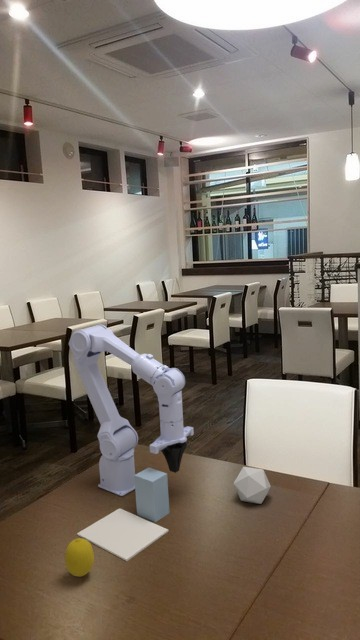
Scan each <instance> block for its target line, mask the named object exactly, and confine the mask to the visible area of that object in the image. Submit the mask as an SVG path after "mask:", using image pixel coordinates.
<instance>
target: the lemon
mask: <svg viewBox="0 0 360 640" xmlns="http://www.w3.org/2000/svg"><path fill="white" fill-rule="evenodd" d="M64 560H65V562H64V563H65V567H66V569H67V570H68V572H69V574H71V575H72V576H74V577H80V578H81V577H83V576H85V575H87V574H89V572H90V571H91V570H92V568H93V566H94V562H95V553H94V549H93V546H92V543H91V542H90V541H88V540H86V539H84V538H82V537H77V538H75V539H73V540H71V541H70V543H69V544H68V545H67V547H66V549H65V555H64Z"/></svg>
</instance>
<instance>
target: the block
mask: <svg viewBox="0 0 360 640" xmlns="http://www.w3.org/2000/svg"><path fill="white" fill-rule="evenodd" d="M134 479H135V489H134V490H135V505H136V516H139V517H141V518H143V519H145V520H148V521H150V522H152V523H157V522H159V520H161V519H163V518H164V517H166V516H167V515H169V514H170V513H171V512H170V501H169V500H170V497H169V496H170V495H169V482H168V480H169V479H168V473H167V472H163V471H161V470H159V469H158V470H157V469H155V468H153V467H147V468H145V469H144V470H141V471H140V472H137V473H135V475H134Z"/></svg>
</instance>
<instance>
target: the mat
mask: <svg viewBox="0 0 360 640" xmlns="http://www.w3.org/2000/svg"><path fill="white" fill-rule="evenodd" d="M168 532H170V531H169V529H168V528H165V527H163V526H161V525H159V524H157V523H155V522H153V521H151V520H149V519H146V518H144V517H142V516H139V515H137V514H133V513H132V512H130V511H128V510H127V511H126V510H124V509H123V508H120V507H119V508H118V509H116V510H114V511H113V512H111V513H110V514H109V513H108V514H107V515H105V516H104V517H102V518H101V519H99V520H97V521H95V522H94V523H92V524H91V525H89V526H86V528H84V529H82V530H80V531H79V532H77V533H76V535H77V536H78V537H79V538H83V539H85V540H87V541H88V542H89V543H90V544H94V545H95V546H97V547H99V548H101V549H103V550H105V551H106V552H108V553H111V554H112V555H114V556H116V557H117V558H119V559H121V560H124V561H126V562H128V561H130V560H131V559H132V558H135V556H137V555H138V554H139V553H141V552H142V551H143V550H145V549H146V548H147V547H149V546H150V545H152V544H154V542H156V541H157V540H159V539H160V538H162V537H163V536H165V535H166V534H168Z"/></svg>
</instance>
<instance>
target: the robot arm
mask: <svg viewBox="0 0 360 640" xmlns="http://www.w3.org/2000/svg"><path fill="white" fill-rule="evenodd" d="M68 346H69V348H70V351H71V353H72V355H73V363H74V367H75V369H76V371H77V374H78V376H79V378H80V380H81V382H82V385H83V388H84V389H85V390H84V391H85V393H86V394H87V397H88V398H89V401H90V404H91V405H92V408H93V411H94V412H95V415H96V417H97V419H98V421H99V424H100V427H99V430H98V432H97V439H98V442H99V450H100V452H101V454H102V455H101V456H100V458H99V463H98V466H99V467H98V468H99V480H100V483H98V487H99V488H101V489H103V490H106V491H108V492H110V493H113V494H115V495H117V496H120V497H124V496H125V495H127V494H129V493H131V492H132V491H134V490H135V479H134V475H136V468H135V453H134V452H135V447H136V446H137V445H138V441H139V435H138V433H137V431H136V430H135V428H134V427H133V426H132V425H131V424H130V421H129V420H128V419H126V418H124V417H122V416H121V415H120V414H119V410H118V409H117V406H116V404H115V402H114V399H113V397H112V395H111V393H110V390H109V388H108V386H107V383H106V381H105V379H104V376H103V374H102V372H101V370H100V367H99V365H98V360H99V357H100V355H101V354H102V353H103V352H107V353H110V354H111V355H112V356H115V357H116V358H118V359H120V360H121V361H123V362H124V363H126V364H127V365H130V366H131V370H132V372H133V374H135V375H136V376H137V377H139V378H140V379H142V380H144V381H145V382H147V383H148V384H149V385H151V386H152V388H153V392H154V393H155V394H156V396H157V402H158V408H159V424H160V425H159V427H160V435H159V436H158V437H157V438H156V439H155V440H154V441H153V442H152V443H150V444H149V453H151V454H154V455H157V454H159V452H160V451H161V453H162V454H163V456H164V459H165V461H166V463H167V467H168V469H169V472H173V473H175V474H176V473H178V472H179V471H180V468H181V463H182V459H183V455H184V453H185V451H186V449H187V447H188V445H187V441H188V438H187V437H188V436H193V435H195V434H194V433H195V431H194V427H193V426H184V415H183V414H184V411H183V393H182V392H183V390H182V389H183V388H184V387H185V385H186V378H185V375H184V373H183V372H182V371H181V370H180V369H179V368H176V367H171V368H170V367H169V366H167V365H166V364H162V363H161V362H159V361H158V360H156V359H155V358H154V355H153V354H151V353H138V352H137V351H135V350H134V349H133V348H131V346H129V345H127V344H126V343H125V342H124V341H123V340H121V339H120V338H119V337H118V336H116V335H115V334H114V332H113V330H112V329H111V328H108V327H107V326H105V325H104V324H101V323H99V324H95V325H93V326H90V327H85V328H82V329H75V330H74V331H73V332H72V334H71V335H70V338H69V341H68Z"/></svg>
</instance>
